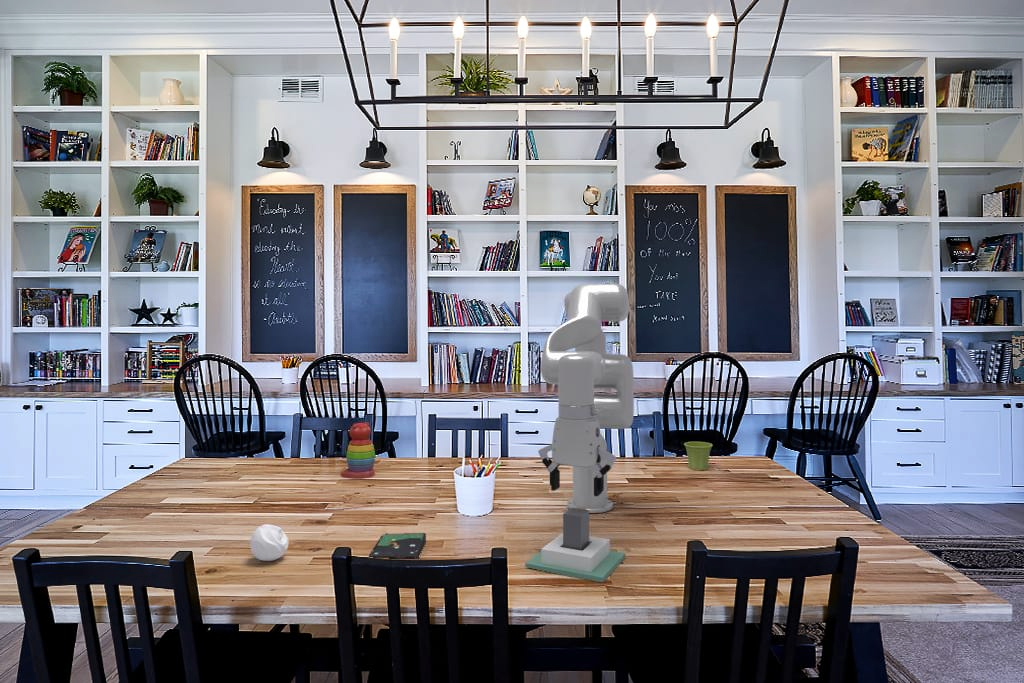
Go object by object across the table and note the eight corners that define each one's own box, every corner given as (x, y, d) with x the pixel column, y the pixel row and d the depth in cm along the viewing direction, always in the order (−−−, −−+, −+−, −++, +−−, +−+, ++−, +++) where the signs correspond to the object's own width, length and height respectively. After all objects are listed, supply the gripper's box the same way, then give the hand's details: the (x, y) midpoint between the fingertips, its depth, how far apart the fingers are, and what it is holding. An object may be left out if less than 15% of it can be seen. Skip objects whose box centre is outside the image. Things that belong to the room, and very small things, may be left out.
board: (553, 545, 148) (553, 528, 148) (625, 557, 140) (625, 539, 140) (525, 567, 135) (525, 549, 135) (602, 582, 127) (602, 562, 127)
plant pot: (707, 473, 217) (708, 447, 217) (680, 469, 222) (680, 444, 222) (715, 467, 225) (715, 443, 225) (689, 464, 230) (689, 440, 230)
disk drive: (416, 568, 136) (426, 543, 151) (416, 555, 136) (426, 531, 151) (368, 568, 136) (382, 543, 151) (367, 555, 136) (382, 531, 151)
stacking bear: (367, 470, 224) (366, 419, 223) (382, 475, 216) (381, 422, 216) (338, 475, 217) (337, 422, 216) (353, 480, 209) (352, 426, 209)
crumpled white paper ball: (282, 566, 136) (281, 530, 136) (245, 567, 136) (244, 531, 136) (292, 552, 144) (291, 518, 144) (257, 553, 144) (256, 519, 143)
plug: (573, 551, 142) (573, 506, 141) (591, 553, 140) (591, 508, 140) (563, 560, 136) (563, 513, 136) (580, 563, 134) (580, 516, 134)
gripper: (620, 412, 136) (620, 492, 137) (546, 407, 144) (546, 483, 145) (609, 418, 129) (609, 501, 130) (531, 412, 137) (532, 491, 138)
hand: (576, 491), depth 137 cm, fingers open, 9 cm apart
